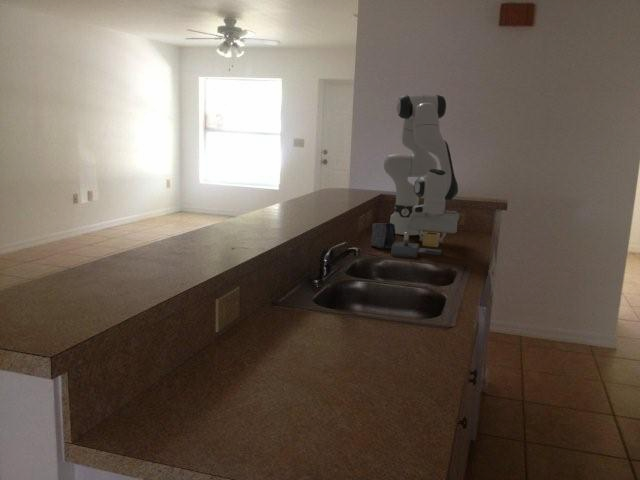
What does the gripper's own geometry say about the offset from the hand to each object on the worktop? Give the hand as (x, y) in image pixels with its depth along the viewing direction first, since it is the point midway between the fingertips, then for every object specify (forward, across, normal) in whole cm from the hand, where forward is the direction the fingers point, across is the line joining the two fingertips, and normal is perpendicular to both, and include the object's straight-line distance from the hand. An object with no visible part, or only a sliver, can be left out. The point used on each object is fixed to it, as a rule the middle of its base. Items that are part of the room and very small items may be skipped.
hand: (430, 241), depth 238 cm
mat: (+4, 0, 0) cm, 5 cm away
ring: (+1, 0, 0) cm, 1 cm away
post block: (+4, +9, +10) cm, 14 cm away
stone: (+5, +20, -1) cm, 21 cm away
